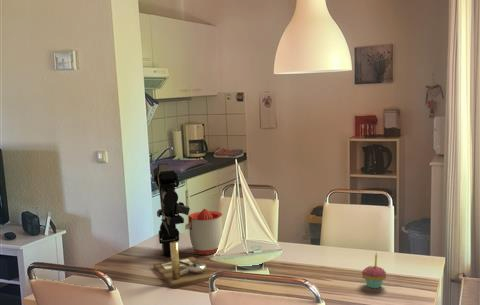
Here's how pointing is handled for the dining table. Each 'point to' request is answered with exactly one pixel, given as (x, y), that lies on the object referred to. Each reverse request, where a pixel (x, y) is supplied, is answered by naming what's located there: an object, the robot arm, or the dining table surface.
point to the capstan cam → (192, 268)
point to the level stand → (184, 279)
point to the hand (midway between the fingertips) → (171, 236)
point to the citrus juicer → (205, 231)
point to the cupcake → (374, 275)
